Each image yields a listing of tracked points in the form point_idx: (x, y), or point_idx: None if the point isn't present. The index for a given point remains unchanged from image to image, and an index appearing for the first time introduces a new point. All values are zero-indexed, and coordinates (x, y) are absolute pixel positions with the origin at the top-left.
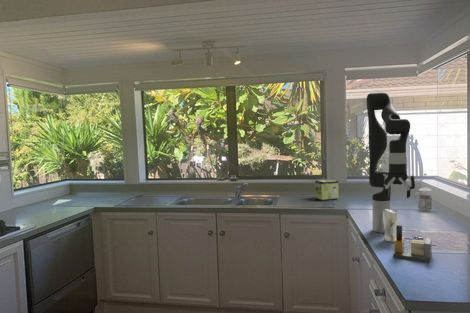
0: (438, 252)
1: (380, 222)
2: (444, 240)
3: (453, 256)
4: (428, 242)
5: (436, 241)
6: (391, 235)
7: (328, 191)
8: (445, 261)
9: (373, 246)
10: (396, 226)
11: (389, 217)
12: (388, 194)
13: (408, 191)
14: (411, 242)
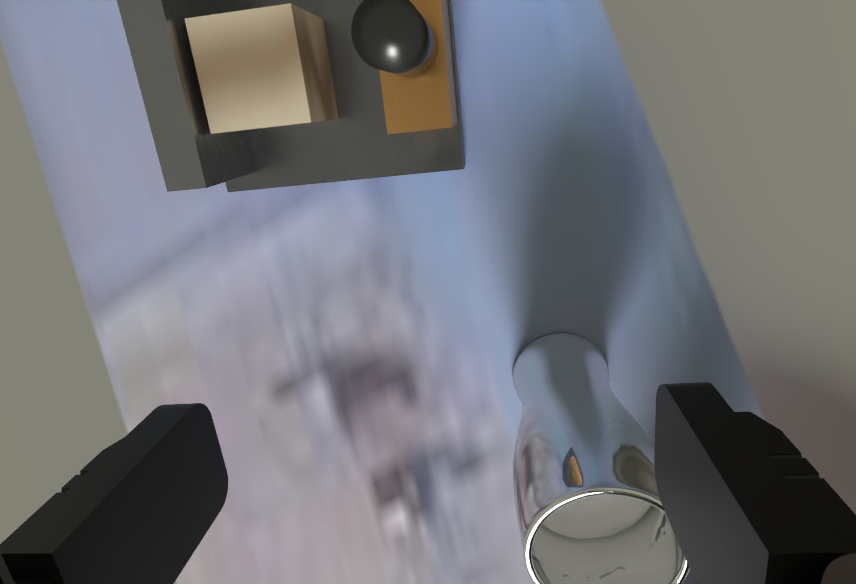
0: (214, 246)
1: (688, 581)
2: (257, 509)
3: (118, 208)
4: (133, 10)
5: (289, 471)
6: (550, 363)
7: None
8: (120, 65)
9: (652, 147)
10: (415, 7)
11: (591, 441)
12: (677, 453)
13: (47, 541)
14: (288, 5)
